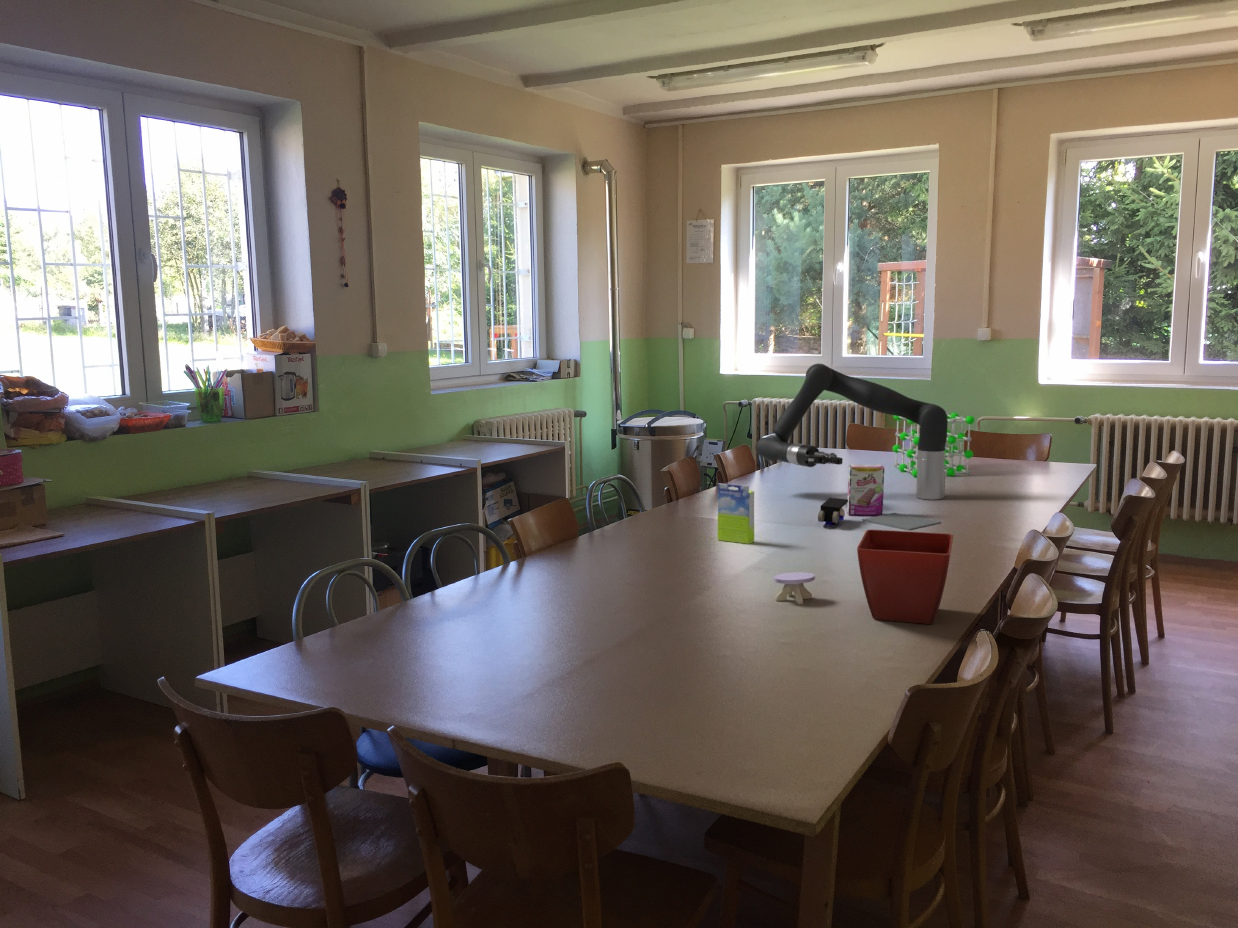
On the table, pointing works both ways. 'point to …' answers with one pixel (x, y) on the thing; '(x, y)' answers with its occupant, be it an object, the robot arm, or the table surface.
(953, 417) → the molecular structure model
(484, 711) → the table surface
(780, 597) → the toy table
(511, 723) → the table surface
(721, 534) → the box
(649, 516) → the table surface
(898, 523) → the mat
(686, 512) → the table surface
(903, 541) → the plant pot
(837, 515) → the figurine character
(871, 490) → the candy bar box
